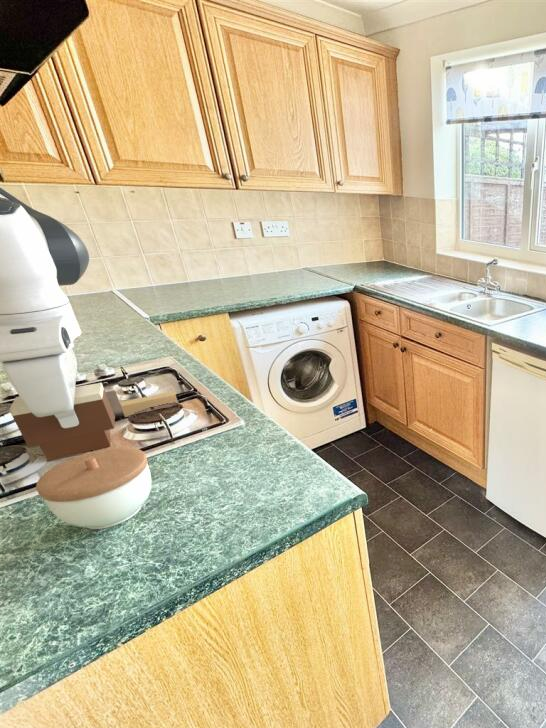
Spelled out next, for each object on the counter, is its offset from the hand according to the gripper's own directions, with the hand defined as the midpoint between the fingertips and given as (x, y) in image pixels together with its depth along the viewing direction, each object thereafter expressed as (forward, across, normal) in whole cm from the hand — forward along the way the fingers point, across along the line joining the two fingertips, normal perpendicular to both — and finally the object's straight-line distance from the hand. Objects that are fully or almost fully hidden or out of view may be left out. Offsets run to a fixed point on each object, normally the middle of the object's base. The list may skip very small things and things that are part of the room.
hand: (72, 416), depth 62 cm
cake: (+18, -29, -5) cm, 35 cm away
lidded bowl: (+18, 0, 0) cm, 19 cm away
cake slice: (+2, 0, 0) cm, 2 cm away
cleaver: (+18, -38, +1) cm, 42 cm away
